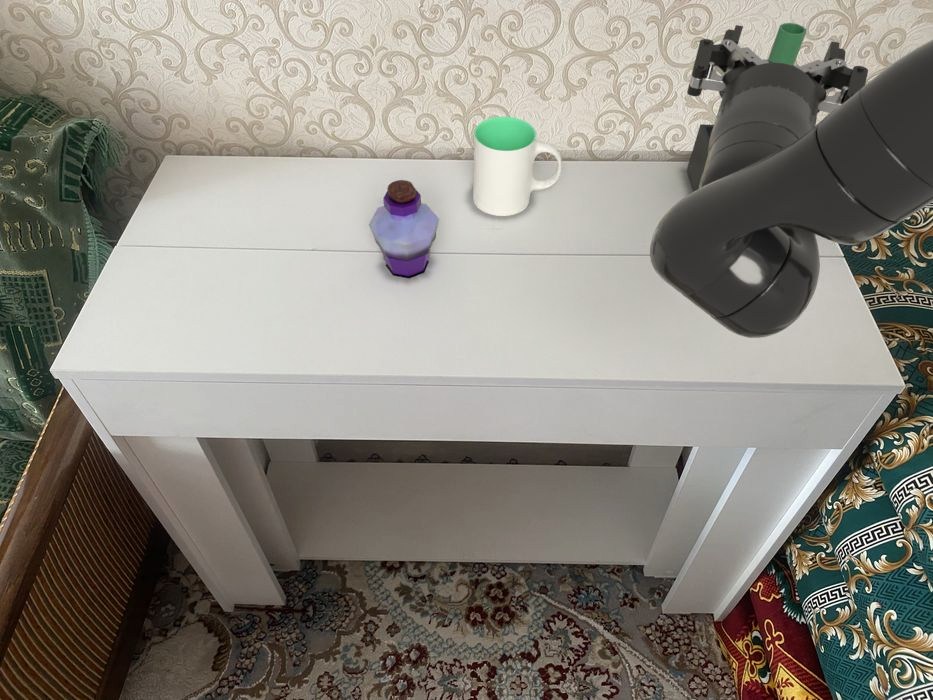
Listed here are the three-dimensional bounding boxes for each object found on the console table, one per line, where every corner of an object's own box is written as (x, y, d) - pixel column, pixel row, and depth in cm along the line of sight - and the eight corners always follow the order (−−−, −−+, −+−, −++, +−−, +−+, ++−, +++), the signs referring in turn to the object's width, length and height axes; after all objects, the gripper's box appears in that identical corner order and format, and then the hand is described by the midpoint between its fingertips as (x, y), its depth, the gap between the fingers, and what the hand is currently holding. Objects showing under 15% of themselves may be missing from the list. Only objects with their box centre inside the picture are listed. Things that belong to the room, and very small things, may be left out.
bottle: (753, 183, 99) (817, 23, 81) (750, 204, 96) (815, 42, 78) (717, 176, 100) (771, 15, 82) (712, 196, 97) (768, 34, 79)
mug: (554, 180, 100) (562, 116, 92) (560, 215, 95) (569, 150, 87) (472, 181, 100) (473, 116, 92) (473, 216, 95) (475, 151, 87)
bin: (761, 172, 102) (780, 125, 96) (781, 220, 95) (803, 173, 89) (686, 171, 102) (700, 124, 96) (700, 219, 95) (716, 171, 89)
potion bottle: (454, 259, 89) (453, 182, 80) (411, 296, 85) (405, 220, 76) (403, 233, 92) (397, 156, 83) (360, 267, 88) (348, 190, 79)
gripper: (879, 107, 50) (882, 15, 60) (684, 71, 53) (716, -11, 63) (837, 192, 56) (846, 95, 65) (662, 154, 59) (696, 67, 69)
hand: (782, 43), depth 64 cm, fingers open, 8 cm apart
